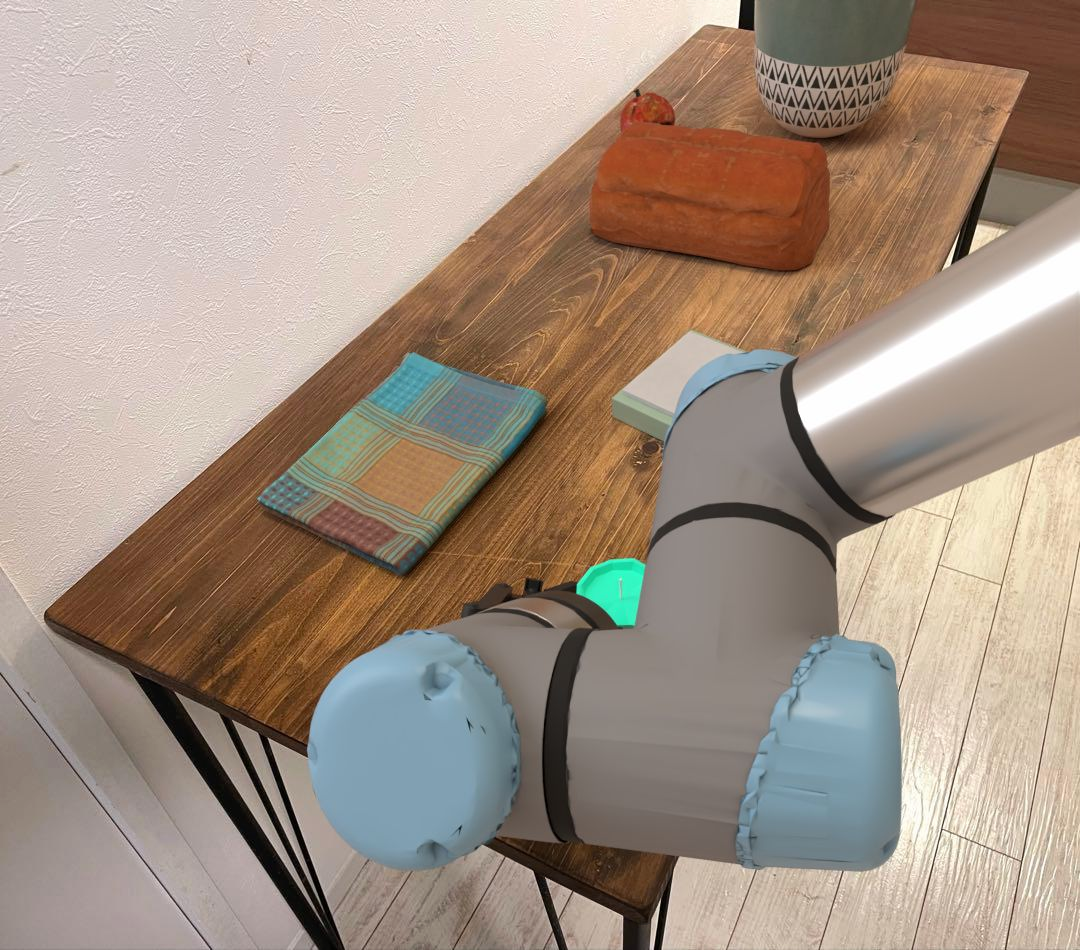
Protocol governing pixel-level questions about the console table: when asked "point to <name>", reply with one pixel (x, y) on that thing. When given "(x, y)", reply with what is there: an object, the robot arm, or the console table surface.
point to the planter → (828, 60)
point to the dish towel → (405, 461)
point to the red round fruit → (647, 110)
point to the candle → (615, 588)
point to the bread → (713, 194)
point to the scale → (666, 383)
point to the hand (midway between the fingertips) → (636, 615)
